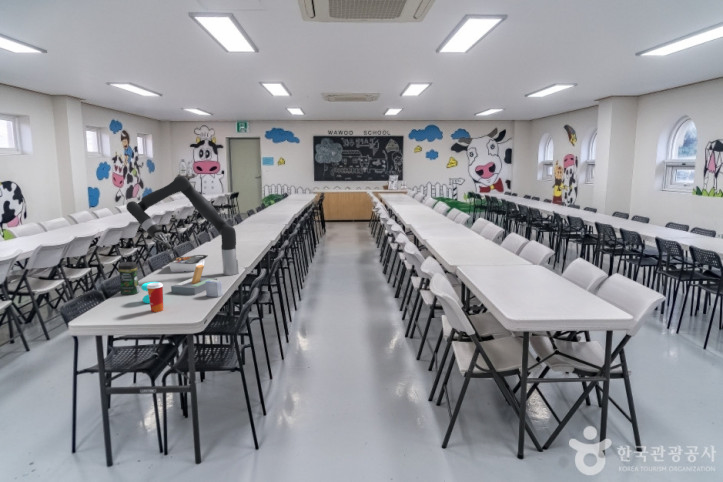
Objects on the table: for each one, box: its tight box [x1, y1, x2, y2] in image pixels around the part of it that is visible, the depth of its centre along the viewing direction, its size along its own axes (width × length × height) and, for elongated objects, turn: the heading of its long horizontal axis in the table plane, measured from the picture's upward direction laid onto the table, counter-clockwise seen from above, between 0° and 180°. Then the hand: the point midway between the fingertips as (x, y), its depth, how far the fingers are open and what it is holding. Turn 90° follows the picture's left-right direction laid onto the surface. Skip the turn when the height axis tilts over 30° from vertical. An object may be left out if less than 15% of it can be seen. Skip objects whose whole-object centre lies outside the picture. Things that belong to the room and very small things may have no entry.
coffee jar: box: [117, 261, 141, 296], centre depth 263 cm, size 10×8×19 cm
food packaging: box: [165, 254, 209, 273], centre depth 324 cm, size 25×8×23 cm
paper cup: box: [147, 281, 164, 313], centre depth 231 cm, size 8×8×14 cm
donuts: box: [140, 281, 159, 304], centre depth 248 cm, size 10×10×10 cm
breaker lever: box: [191, 265, 205, 284], centre depth 270 cm, size 2×5×12 cm, turn 164°
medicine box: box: [205, 279, 224, 298], centre depth 256 cm, size 8×4×9 cm, turn 71°
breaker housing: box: [170, 276, 218, 296], centre depth 271 cm, size 16×22×4 cm
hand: (170, 248), depth 274 cm, fingers closed
